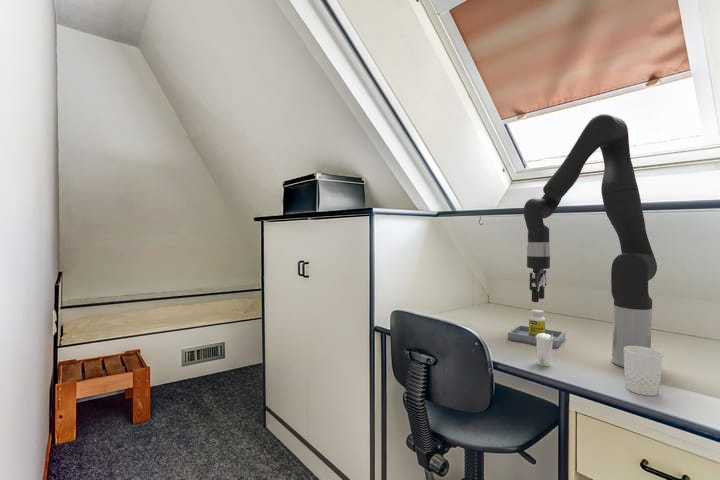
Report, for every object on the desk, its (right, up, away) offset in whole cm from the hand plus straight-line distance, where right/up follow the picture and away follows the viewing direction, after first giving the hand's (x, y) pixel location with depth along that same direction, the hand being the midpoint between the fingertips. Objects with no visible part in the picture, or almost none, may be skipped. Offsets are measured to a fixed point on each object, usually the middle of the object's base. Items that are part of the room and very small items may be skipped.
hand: (538, 300), depth 138 cm
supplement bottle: (0, -14, +1) cm, 14 cm away
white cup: (+6, -16, -42) cm, 45 cm away
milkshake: (-10, -15, -25) cm, 31 cm away
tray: (0, -14, +1) cm, 14 cm away
